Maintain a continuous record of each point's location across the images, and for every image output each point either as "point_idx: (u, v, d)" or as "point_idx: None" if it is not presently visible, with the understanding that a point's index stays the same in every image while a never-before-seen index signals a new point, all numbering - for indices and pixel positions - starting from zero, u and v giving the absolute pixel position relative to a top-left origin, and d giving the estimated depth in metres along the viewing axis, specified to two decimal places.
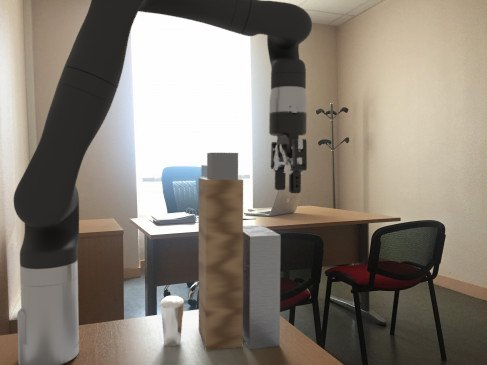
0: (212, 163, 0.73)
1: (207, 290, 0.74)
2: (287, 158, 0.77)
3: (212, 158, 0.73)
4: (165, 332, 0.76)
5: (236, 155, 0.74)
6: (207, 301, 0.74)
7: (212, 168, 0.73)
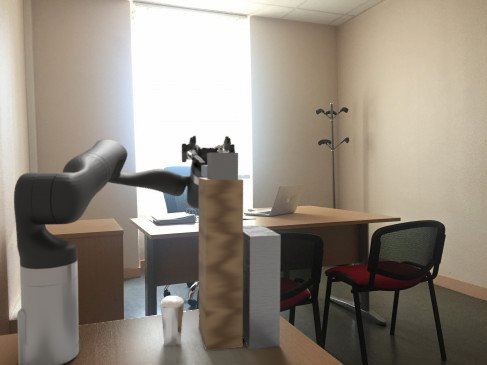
0: (212, 163, 0.73)
1: (207, 290, 0.74)
2: None
3: (212, 158, 0.73)
4: (165, 332, 0.76)
5: (236, 155, 0.74)
6: (207, 301, 0.74)
7: (212, 168, 0.73)
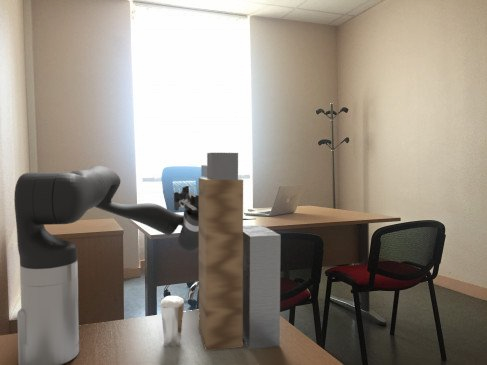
0: (212, 163, 0.73)
1: (207, 290, 0.74)
2: None
3: (212, 158, 0.73)
4: (165, 332, 0.76)
5: (236, 155, 0.74)
6: (207, 301, 0.74)
7: (212, 168, 0.73)
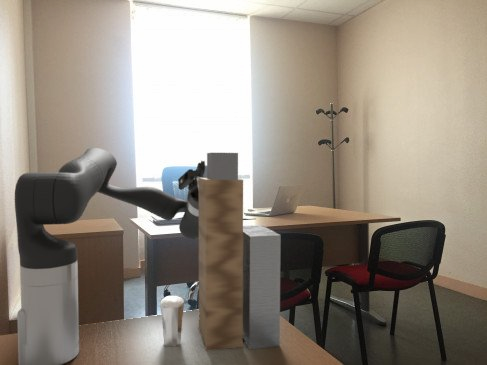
0: (212, 163, 0.73)
1: (207, 290, 0.74)
2: None
3: (212, 158, 0.73)
4: (165, 332, 0.76)
5: (236, 155, 0.74)
6: (207, 301, 0.74)
7: (212, 168, 0.73)
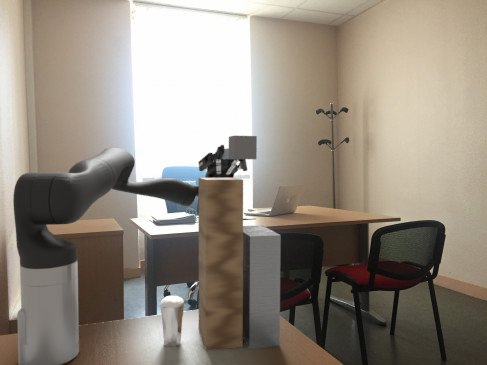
0: (234, 145, 0.84)
1: (207, 290, 0.74)
2: None
3: (234, 140, 0.84)
4: (165, 332, 0.76)
5: (255, 138, 0.86)
6: (207, 301, 0.74)
7: (234, 149, 0.84)
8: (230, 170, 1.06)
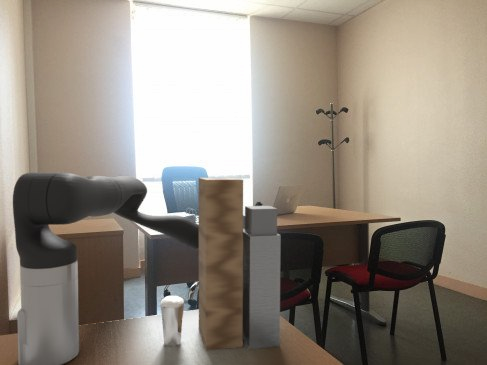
0: (252, 219, 0.74)
1: (207, 290, 0.74)
2: None
3: (252, 214, 0.74)
4: (165, 332, 0.76)
5: (275, 211, 0.75)
6: (207, 301, 0.74)
7: (252, 224, 0.74)
8: None
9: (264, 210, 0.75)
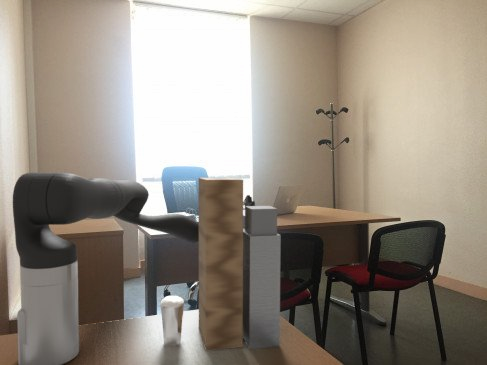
0: (252, 219, 0.74)
1: (207, 290, 0.74)
2: None
3: (252, 214, 0.74)
4: (165, 332, 0.76)
5: (275, 211, 0.75)
6: (207, 301, 0.74)
7: (252, 224, 0.74)
8: None
9: (264, 210, 0.75)
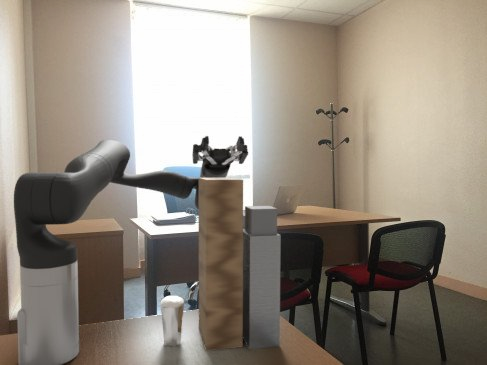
0: (252, 219, 0.74)
1: (207, 290, 0.74)
2: None
3: (252, 214, 0.74)
4: (165, 332, 0.76)
5: (275, 211, 0.75)
6: (207, 301, 0.74)
7: (252, 224, 0.74)
8: (228, 161, 1.05)
9: (264, 210, 0.75)
